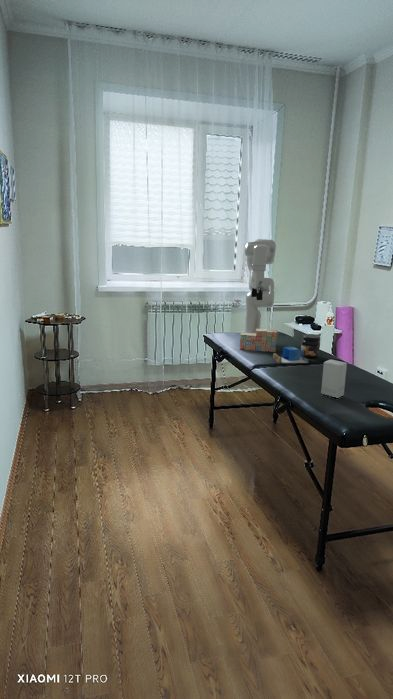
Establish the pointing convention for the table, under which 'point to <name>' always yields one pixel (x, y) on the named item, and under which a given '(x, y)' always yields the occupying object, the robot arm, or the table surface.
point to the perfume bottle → (292, 353)
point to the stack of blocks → (259, 340)
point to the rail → (277, 358)
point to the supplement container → (310, 345)
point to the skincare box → (333, 378)
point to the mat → (301, 360)
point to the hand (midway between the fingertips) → (256, 298)
